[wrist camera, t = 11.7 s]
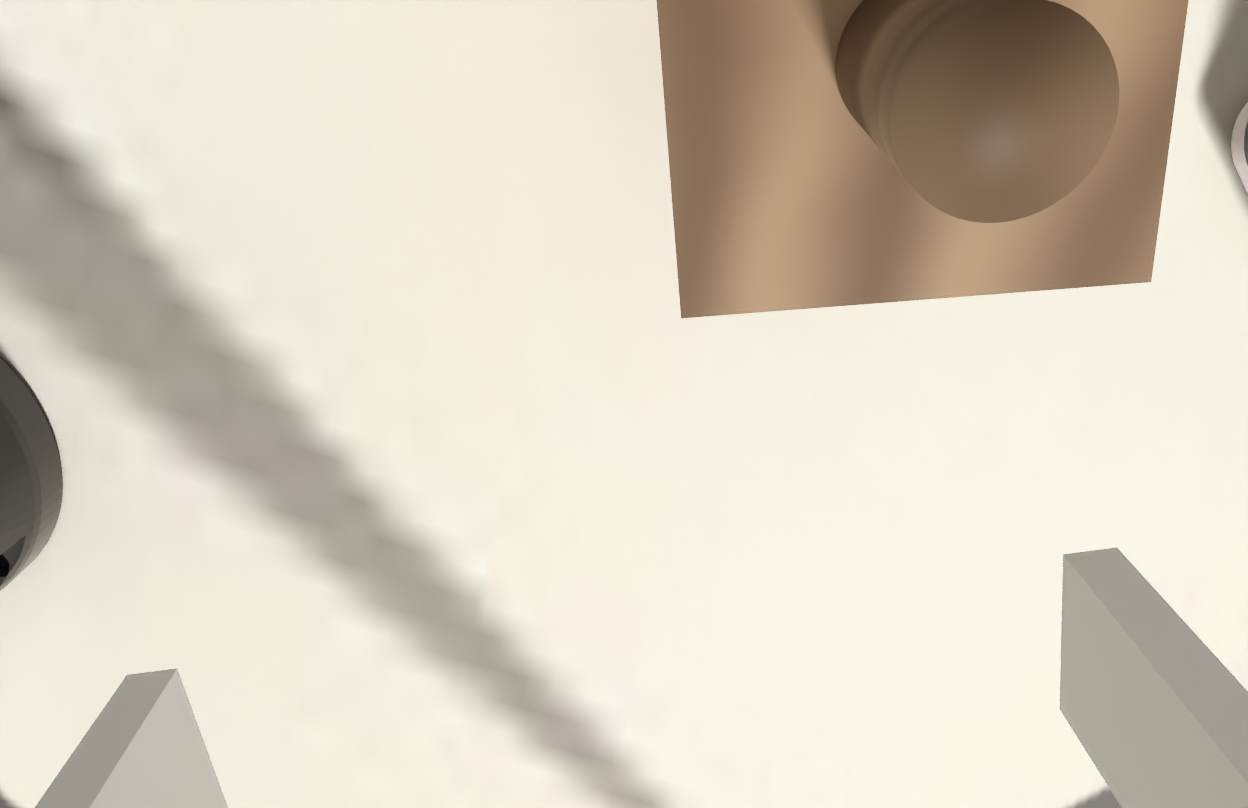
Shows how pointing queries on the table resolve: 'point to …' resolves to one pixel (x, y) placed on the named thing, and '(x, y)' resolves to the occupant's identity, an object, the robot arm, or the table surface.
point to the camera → (1241, 145)
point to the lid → (914, 147)
